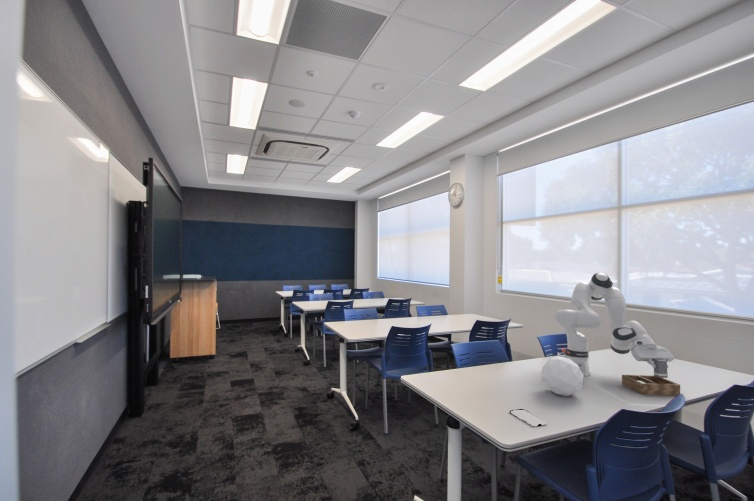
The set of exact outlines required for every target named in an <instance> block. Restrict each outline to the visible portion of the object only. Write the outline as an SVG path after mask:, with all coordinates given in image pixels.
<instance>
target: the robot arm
mask: <svg viewBox="0 0 754 501" xmlns="http://www.w3.org/2000/svg"><path fill="white" fill-rule="evenodd" d="M613 285H614V282H613V281H612V280H611V278H610V277H609V275H608V274H606V273H604V272H596V273H594V274H593V275H592V276H591V279H590V281H589V282H588V283H587V282H583V281H582V282H578V283H576V285H575V287H574V289H573V290H572V291H573V292H572V296H571V301H570V305H571V307H572V308H573V309H566V308H565V309H558V310H557V311H556V312H555V314H554V319H555V322H556V323H557V324H558V325H559V326H560V327H561V328H562V330H564V332H565V335H566V339H567V341H566V342H567V348H566V349H565V348H561V352H563V353H564V354H563V355H561V356H562V357H564V358H569V359H571V360H572V361H573V362H574V363H575V364H577V365H578V367H579V368H580V370H581V371H582V373H583V378H585V377H586V378H587V377H589V376H590V375H591V374H592V373H591V370H590V366H589V364H590V363H589V349H588V346H589V344H588V341H589V340H588V338H587V337H586V335H584V334H583V333H581V332H579V331H578V329H583V330H584V329H585V330H598V329H599V328H600V327H601V325H602V323H603V322H602V317H601V315H600V314H599V313H597V312H596V311H595V310H593V308H592V306H591V304H592V300H593V301H601V300H602V299H603V300H604V305H605V308H606V313H607V315H608V319H609V321H610V322H609V323H610V327H611V328H610V329H611V334H612V335H611V342H610V349H611V350H612V351H613V352H614V353H617V354H620V355H625V354H628V353H630V352H631V355H632V356H633V358H634V359H635V361H637V362H647V364H648V365H650V366H651V367H652V368H653V369H654V368H657V367H658V366H657V364H655V363H653V359H662V360H666V361H667V363H671V362H672V361H674V360H675V356H674V354H672V353H671V351H670V350H669V349H668V348H666V347H664V346H662V345H657V344H656V343H655V342H654V339H652V337H651V336H649V334H648V331H646V329H645V328H644V326H643V325H642V324H641V323H640V322H639V321H636V320H629V321H627V322H625V323H624V320H625V317H626V312H627V303H626V299H625V297H624V294H623V292H622V290H620V289H619V288H618V287H613ZM668 368H669V365H668V364H667V369H668Z"/></svg>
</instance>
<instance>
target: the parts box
mask: <svg viewBox="0 0 754 501" xmlns="http://www.w3.org/2000/svg"><path fill="white" fill-rule="evenodd" d="M638 381H642V382H645V383H641V382H638ZM621 385H623V386H624V387H626V388H628V389H631V390H632V391H634V392H637V393H638V394H640V395H641V396H642V395H644V396H645V395H646V396H647V395H648V396H649V395H652V396H654V395H655V396H680V395H681V384H680V383H677V382H675V381H671V380H669V379H668V378H659V377H656V376H654V374H653V375H652V374H651V375H650V374H649V375H647V374H643V375H641V374H640V375H639V374H622V375H621ZM679 394H680V395H679Z"/></svg>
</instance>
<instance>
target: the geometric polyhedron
mask: <svg viewBox="0 0 754 501" xmlns="http://www.w3.org/2000/svg"><path fill="white" fill-rule="evenodd" d="M559 356H560V355H559ZM559 356H558V355H557V356H553V357H554V358H551V359H550V358H549V359H548V360H547V361H546V362H545V363H544V364H543V365H542V369H541V378H542V381H543V383H544V384H545V387H546V388H547V389H549V390H550V391H551V392H552V393H554V394H556V395H560V396H563V397H569V396H572V395H574V394H576V393H577V394H578V393H579V391H580V389H581V388H582V387H583V382H584V377H583V373H582V371H581V370H580V368H579V367H578V365H577V364H575V363H574V362H573V361H572V360H571V359H569V358H564V357H559Z"/></svg>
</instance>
